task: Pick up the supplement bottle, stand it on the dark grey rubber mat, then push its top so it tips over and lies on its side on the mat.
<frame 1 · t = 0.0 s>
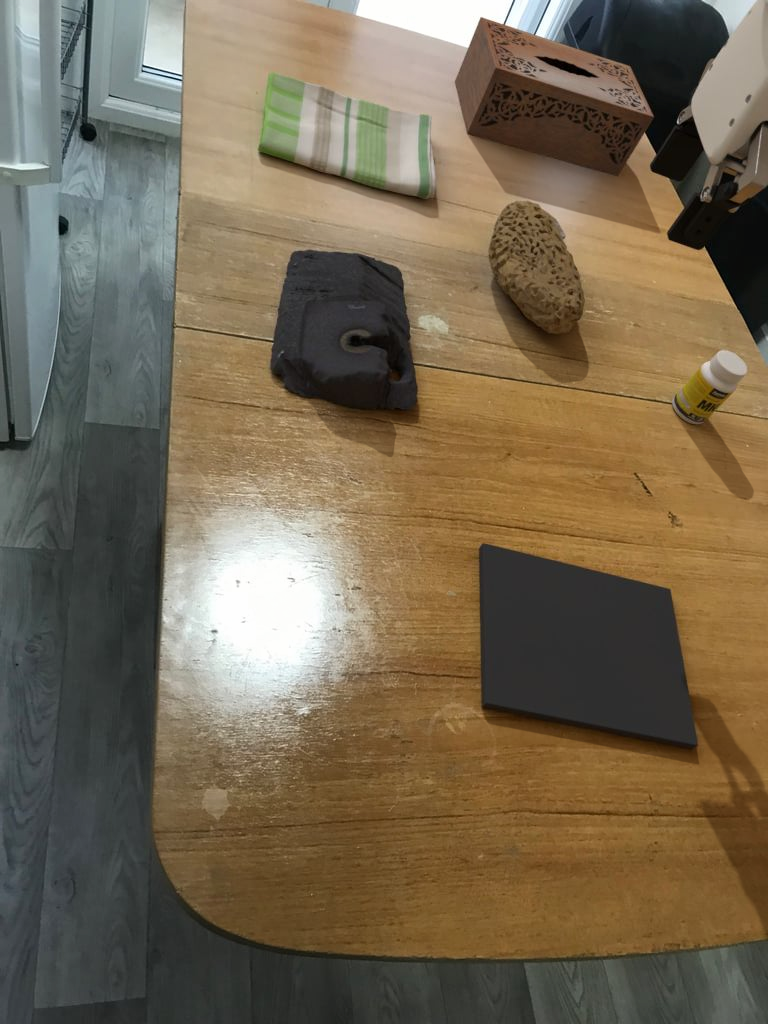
hand: (673, 207, 70), 28 cm above the table, tool pointing down, fingers open, 9 cm apart
dark slate chunk: (345, 333, 90), on the table
dish towel: (346, 146, 111), on the table
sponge: (524, 288, 106), on the table
supplement bottle: (687, 411, 102), on the table
tissue box cover: (535, 129, 131), on the table
mat: (581, 645, 76), on the table
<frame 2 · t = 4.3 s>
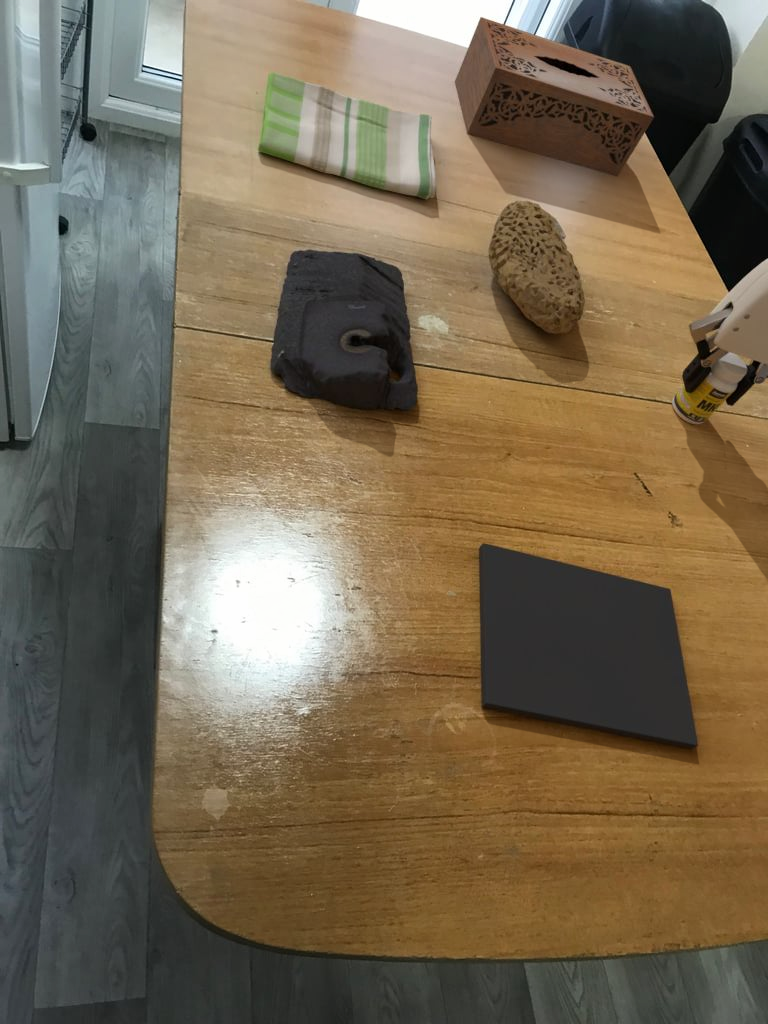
hand: (707, 389, 99), 4 cm above the table, tool pointing down, fingers closed on supplement bottle, 4 cm apart
supplement bottle: (687, 411, 102), on the table, touching gripper
everything else where it was.
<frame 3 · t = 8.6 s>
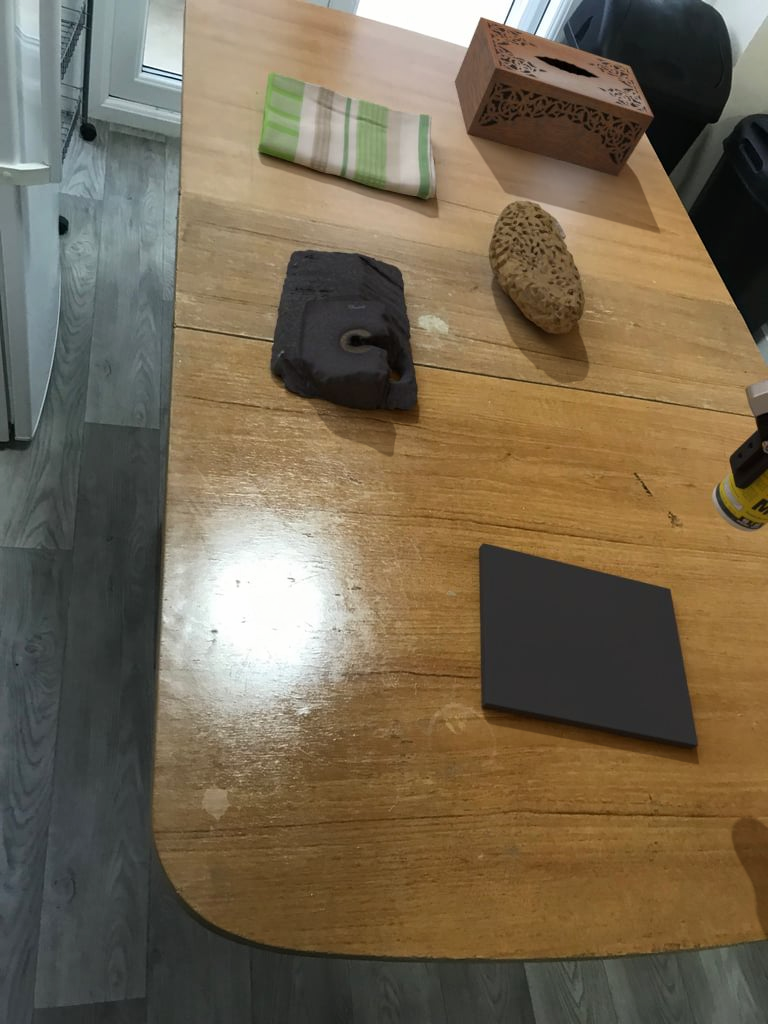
supplement bottle: (734, 510, 68), point 17 cm above the table, touching gripper
everything else where it was.
when the fingers open (5 cm above the table, at t = 12.9 s): supplement bottle stays where it is, resting on mat.
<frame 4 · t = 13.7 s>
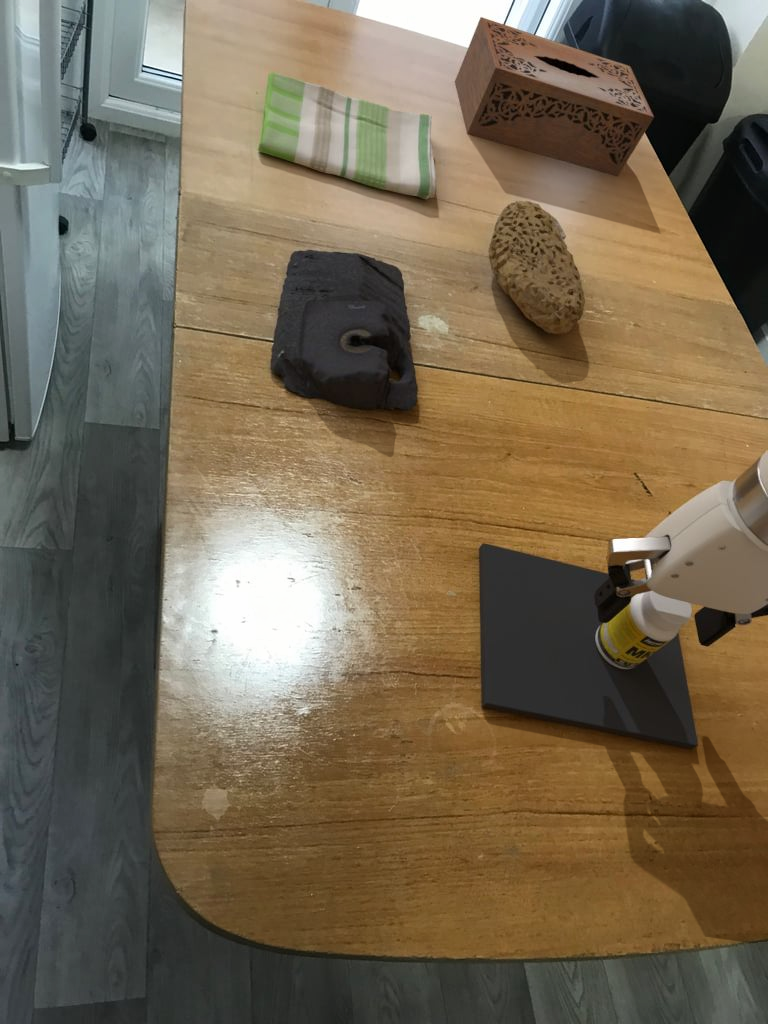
hand: (650, 619, 72), 6 cm above the table, tool pointing down, fingers open, 9 cm apart
supplement bottle: (616, 647, 76), point 1 cm above the table, touching mat
everything else where it was.
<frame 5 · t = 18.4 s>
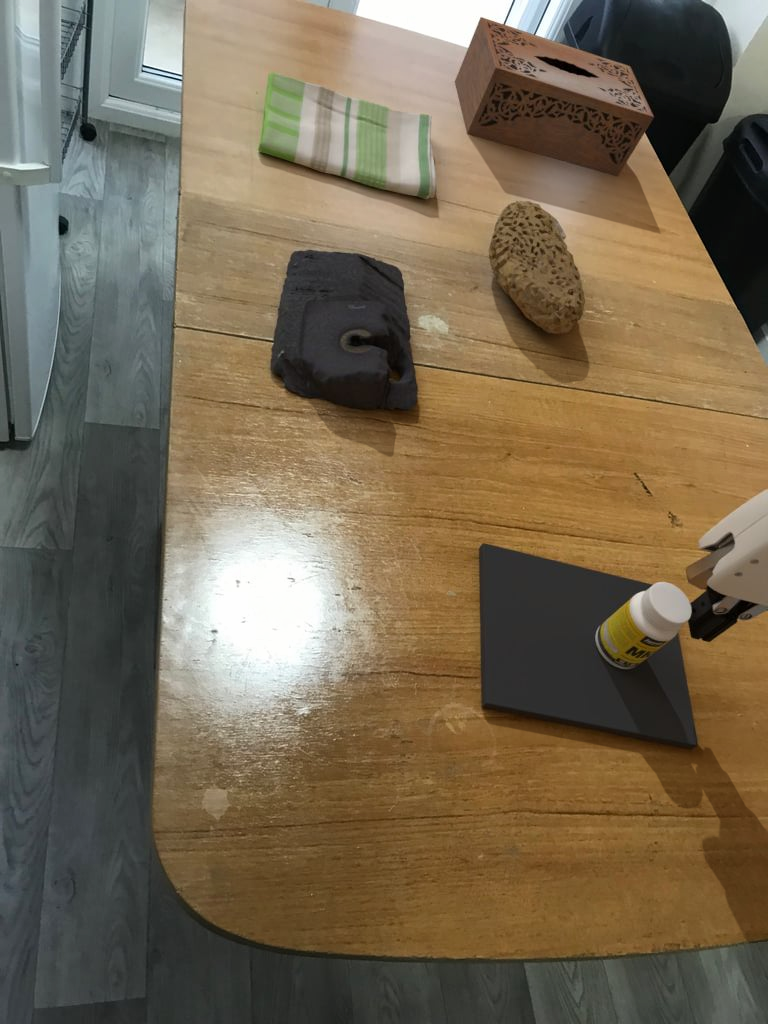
hand: (696, 625, 72), 7 cm above the table, tool pointing down, fingers closed
supplement bottle: (616, 647, 76), point 1 cm above the table, touching gripper, mat
everything else where it was.
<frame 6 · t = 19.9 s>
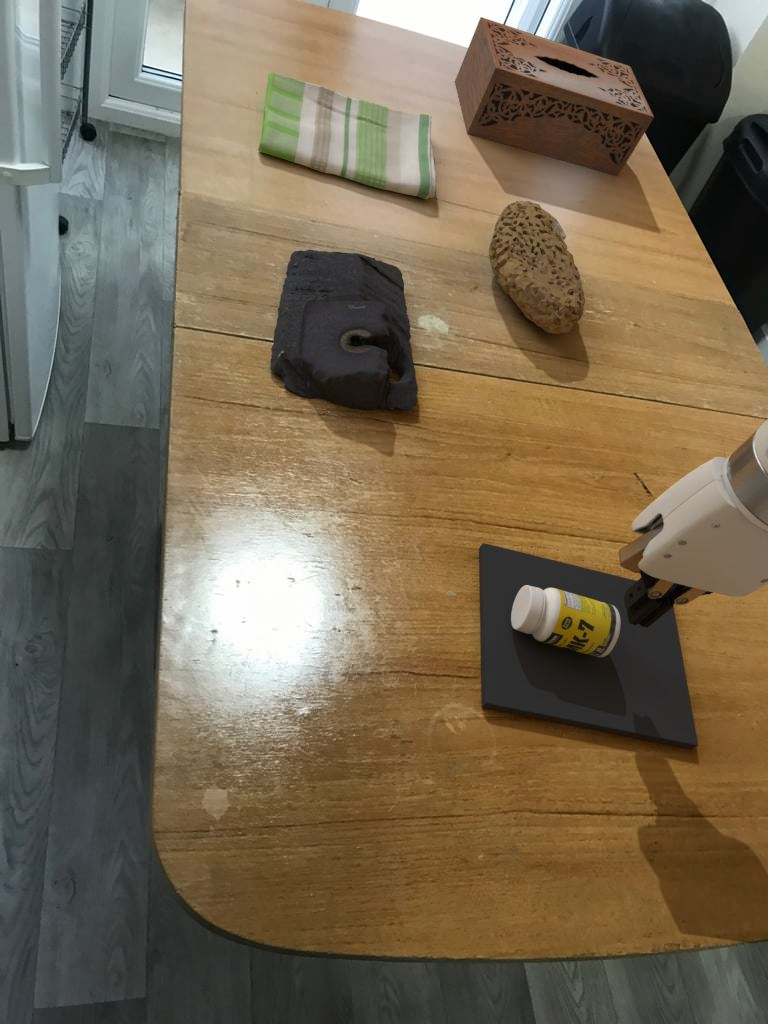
hand: (635, 610, 71), 7 cm above the table, tool pointing down, fingers closed
supplement bottle: (610, 632, 73), point 3 cm above the table, touching mat
everything else where it was.
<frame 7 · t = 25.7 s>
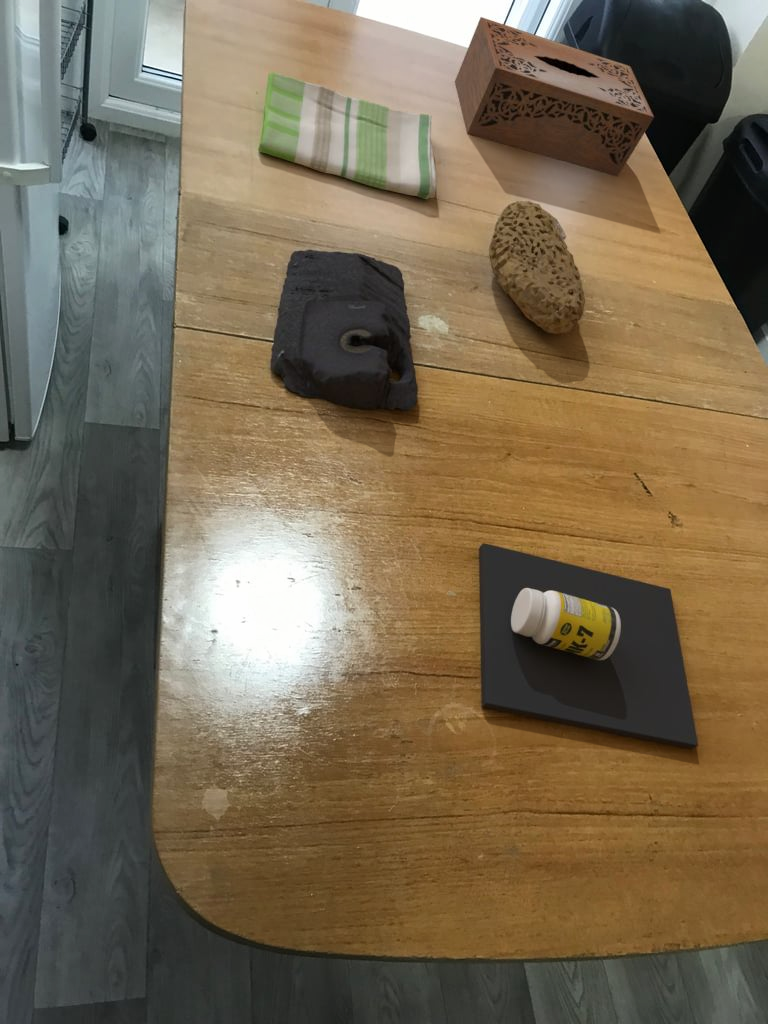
nothing on the table moved.
at the end: supplement bottle tilted 90°; supplement bottle inside the target area on the mat (1.0 cm from its centre), point 3.4 cm above the mat's base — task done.
